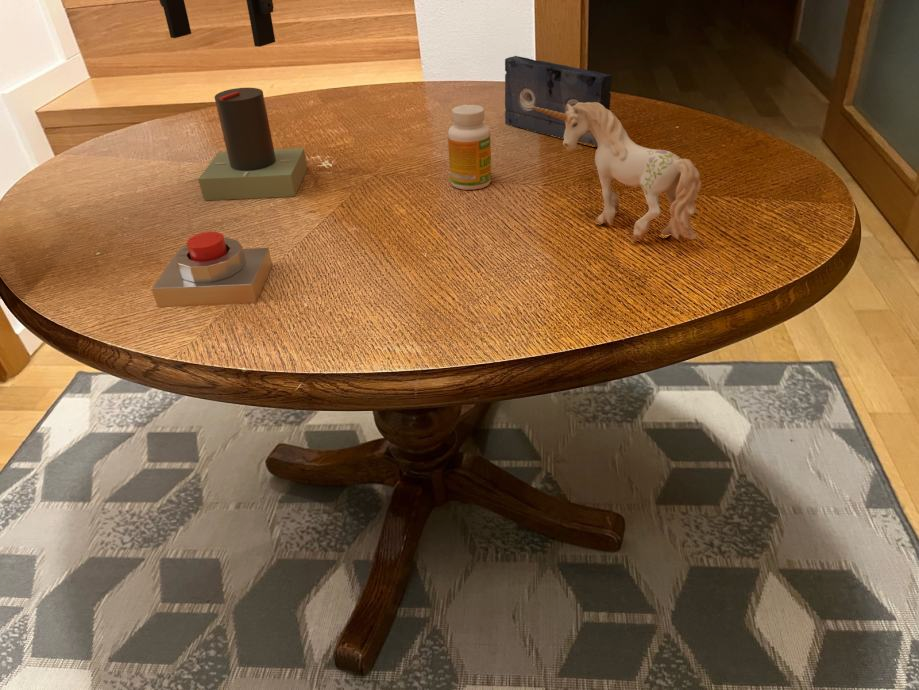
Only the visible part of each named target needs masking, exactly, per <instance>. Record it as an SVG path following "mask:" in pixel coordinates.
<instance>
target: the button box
mask: <svg viewBox="0 0 919 690" xmlns="http://www.w3.org/2000/svg"><path fill="white" fill-rule="evenodd" d="M224 240H225V244H226V248H227V254H225V255H224V256H222V257H220V258H218V259H214V260H210V261H193V260H192V259H191V257H190V253H189V250H188V246H187V244H186V245H184V246H182V247H181V248H179V249H178V250H177V251H176V252H175V254H174V255H173V256H172V258H171V259H170V261H169V262H168V264H167V265H166V266H165V268H164V269H163V271H162V273H161V274H160V275H159V276H158V279H157V280H156V281H155V283H154V284H153V286H152V288H151V291H152V295H153V297H154V300H155V303H156V307H157V308H166V307H167V308H168V307H169V308H170V307H171V308H172V307H192V306H193V307H195V306H214V305H215V306H219V305H239V304H244V305H245V304H257V303H258V300H259V298H260V295H261V293H262V292H263V291H262V290H263V288H264V286H265V283H266V282H267V279H268V277H269V274H270V272H271V269H272V267H273V261H272V256H271V251H270V248H269V247H255V248H254V247H253V248H243V246H242V245H241V243H240V242H239V241H238V239H233V238H230V237H226V236H224Z"/></svg>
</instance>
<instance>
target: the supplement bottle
mask: <svg viewBox="0 0 919 690" xmlns="http://www.w3.org/2000/svg"><path fill="white" fill-rule="evenodd" d="M451 116H452V117H451V118H452V122H453V124H452V125H450V127H449V128H448V131H447V145H448V163H449V180H450V184H451V186H452V187H453V188H456V189H459V190H464V191H474V190H480V189H483V188H485V187H488V186H489V185H490V183H491V181H492V157H491V156H492V155H491V154H492V153H491V151H492V150H491V149H492V148H491V130H490V127H489V126H488V125H487V124H486V123H484V121H485V108H484V107H483V106H481V105H478V104H461V105H457V106H454V107H453V108H452V110H451Z"/></svg>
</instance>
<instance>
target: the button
mask: <svg viewBox="0 0 919 690" xmlns="http://www.w3.org/2000/svg"><path fill="white" fill-rule="evenodd" d="M224 237H225V236H224V235H223V234H222V233H221V232H217V231H205V232H200V233H197V234H194V235H192V236H190V237H189V238H188V239H187V241H186V245H187V246H188V250H189V253H190V257H191V259H192V260H193V261H210V260H214V259H218V258H220V257H222V256H224V255H225V254H227V248H226V244H225V240H224Z"/></svg>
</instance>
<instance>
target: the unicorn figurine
mask: <svg viewBox="0 0 919 690" xmlns="http://www.w3.org/2000/svg"><path fill="white" fill-rule="evenodd" d="M567 107H568V109H569V111H567V112H566V113H565V114H564V113H559V112H557V111H552V110H548V109H543V108H539V107H535V106H532V107H531V108H532V109H533V110H536V111H538V112H541V113H544V114H547V115H549V116H553V117H555V118H558V119H561V120H563V121H565V124H566V129H565V132H564V140H562V146H563V147H564V148H565V149H566V150H567V151H568V152H569V151H573V150H574V149H576V148H578V144H577V141H578V140H579V138H580V137H581V135H583V134H585V133H586V132H587V131H588V130H589V131H590V132H591V133H592V134H593V136H594V137H595V139H596V141H597V145H598V147H597V148H596V150H595V153H594V164H595V166H596V170H597V173H598V180H599V182H600V186H601V190H602V191H601V195H602V200H603V204H604V205H603V211H602V213H601V214H599V215H597V217H596V219H595V220H594V223H595V222H596V223H600V224H603V223H604V224H605V223H606V222H607V224H608V225H609V226H610V225H612V226H613V225H614V219H615V217H616V215H617V214H616V211H618V210H620V198H619V196H618V195H617V194H616V192H614V191H612V181H613V180H616V181H617V182H619V183H621V184H623V185H625V186H627V187H635V188H639V187H641V190H642V192H643V193H644V199H645V201H646V204H647V207H648V210H647V212H646V213H645V214H644V215H643V216H642V217H640V218H639V219H637V220H636V221H635V223H634V225H633V231H632V232H633V235H632V236H633V237H632V241H633V240H635V242H638V241H637V240H639V239H640V238H642V239H644V238H645V237H646V235H645V234H646V233H647V232H648V231H649V230H650V228H651V221H652V220H654V219H656V218H658V217H660V216H661V215H662V211H661V207H660V196H661V194H662V193H664V195H665V197H666V199H667V201H668V202H669V206H670V207H669V214H670V219H669V222H668V225H667V226H666V227H663V228H662V229H661V230H660V232H661V233H662V234H664V235H669V234H672V236H671V237H672V238H674V237H675V239H676V240H679V239H680V236H682V237H683V238H685V239H688V240H692V241H693V240H696V239H697V234H696V233H695V232H694V228H693V226H692V224H691V217H692V215H694V214H695V213H697V207H696V205H695V201H696V200H697V198H698V196H699V193H700V192H699V191H700V190H701V188H702V181H701V180H700V178H701V175H700V172H699V170H698V168H697V167H696V166H695V165H694V163H693V162H692V161H691V159H689V158H681V157H680V156H678V155H677V154H675V153H674V152H672V151H669V150H665V149H657V148H655V149H654V148H648V147H646V146H645V147H644V146H643V145H639V144H637V143H635V142H634V141H633V140H632V139H631V138H630V137H629V135H628V132H627V130H626V129H625V128H624V126H623V123H622V122H621V121H620V120H619V118H618V117H617V116H616V115H615V114H614V113H613V112H612V110H611V109H610V110H608V109H606V108H605V107H604V106H603V105H601V104H600V103H597V102H593V103H590V102H587V103H582V102H581V103H577V104H576V105H575V106H570V105H569V104H567ZM618 212H619V211H618ZM615 214H616V215H615ZM596 223H595V224H596ZM604 224H603V225H604ZM639 241H640V240H639Z"/></svg>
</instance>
